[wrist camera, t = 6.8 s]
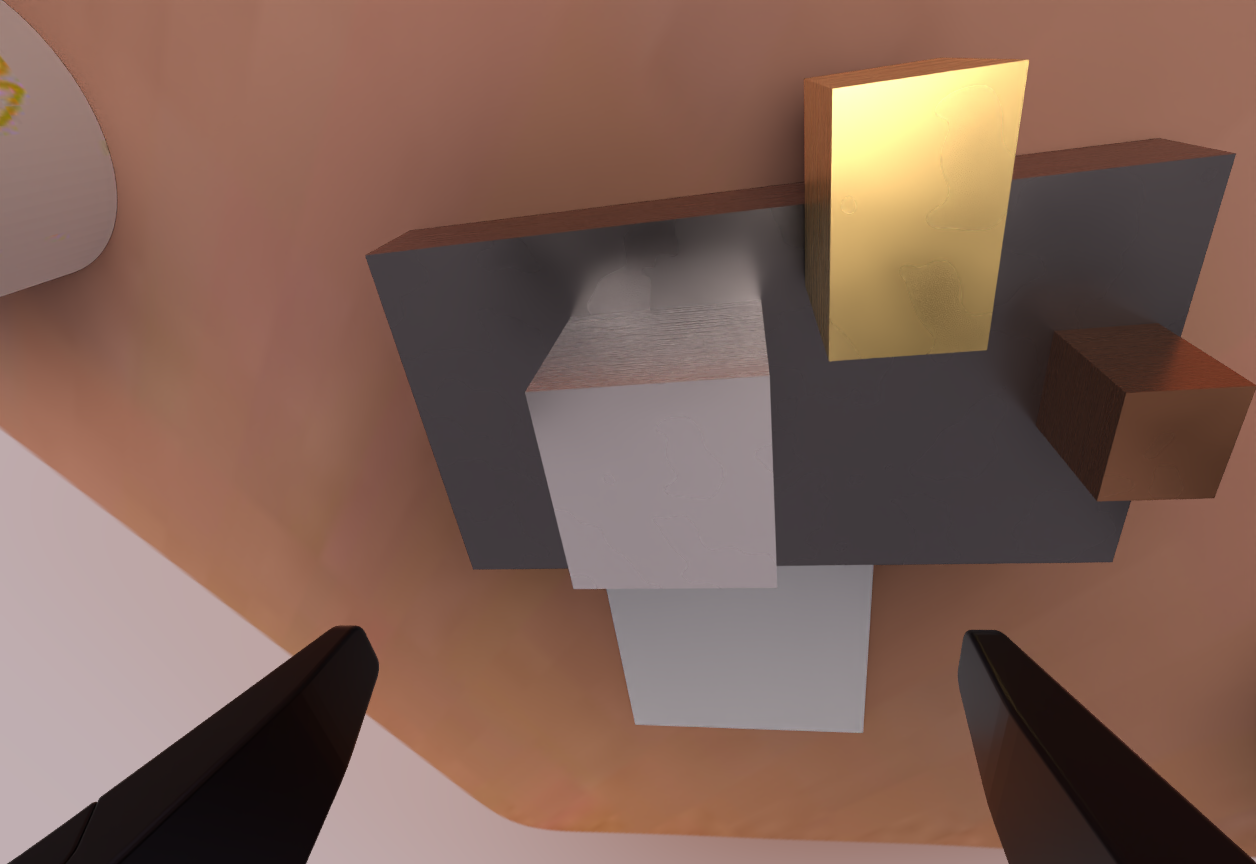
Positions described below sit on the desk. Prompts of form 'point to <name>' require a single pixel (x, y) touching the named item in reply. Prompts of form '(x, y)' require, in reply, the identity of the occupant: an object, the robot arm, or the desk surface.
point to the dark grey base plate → (857, 364)
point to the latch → (908, 203)
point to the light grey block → (660, 448)
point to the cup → (47, 165)
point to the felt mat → (750, 652)
